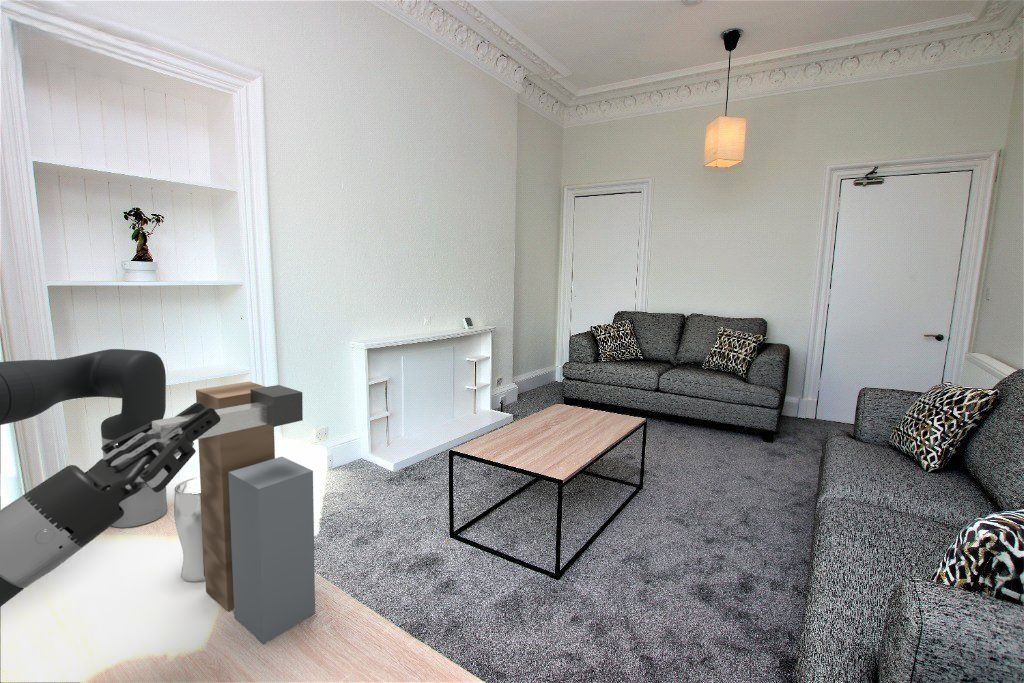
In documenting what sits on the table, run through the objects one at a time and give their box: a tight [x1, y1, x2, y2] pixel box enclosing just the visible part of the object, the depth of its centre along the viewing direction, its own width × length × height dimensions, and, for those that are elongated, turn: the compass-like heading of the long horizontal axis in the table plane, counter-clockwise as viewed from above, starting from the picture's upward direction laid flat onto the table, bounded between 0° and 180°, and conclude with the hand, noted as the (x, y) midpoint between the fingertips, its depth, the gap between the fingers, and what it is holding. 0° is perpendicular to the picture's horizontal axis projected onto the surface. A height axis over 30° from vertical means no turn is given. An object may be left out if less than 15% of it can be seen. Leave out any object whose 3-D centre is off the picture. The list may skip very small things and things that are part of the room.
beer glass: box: [173, 476, 205, 583], centre depth 78 cm, size 7×7×15 cm
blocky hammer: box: [152, 384, 304, 446], centre depth 61 cm, size 6×16×4 cm, turn 145°
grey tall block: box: [228, 456, 316, 645], centre depth 68 cm, size 8×8×22 cm
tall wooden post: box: [195, 381, 276, 613], centre depth 73 cm, size 7×8×32 cm
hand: (209, 410), depth 59 cm, fingers closed on blocky hammer, 2 cm apart
